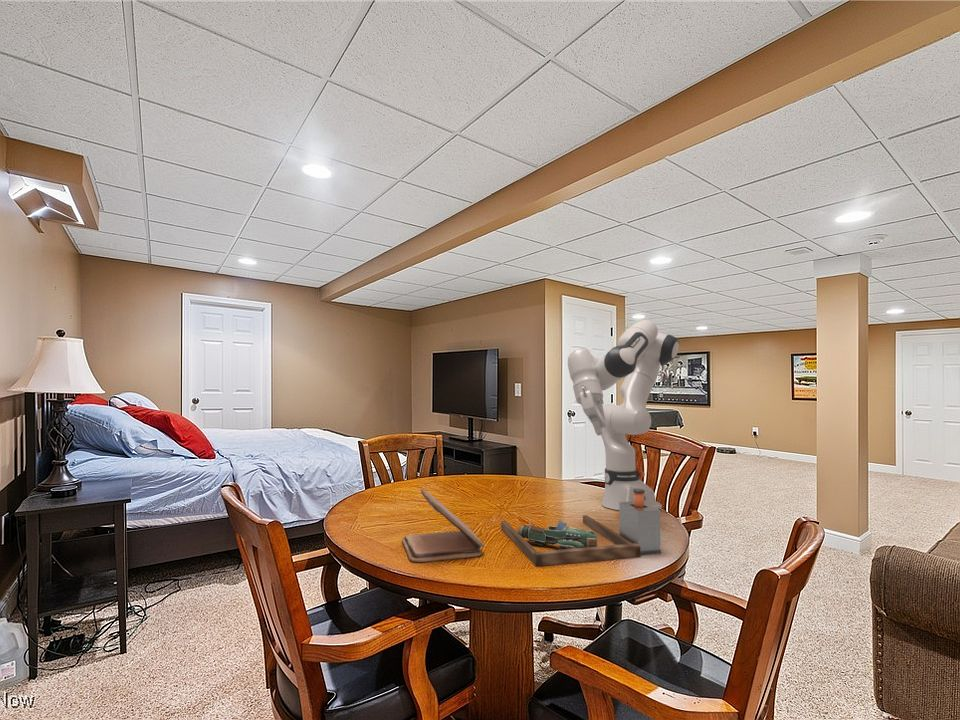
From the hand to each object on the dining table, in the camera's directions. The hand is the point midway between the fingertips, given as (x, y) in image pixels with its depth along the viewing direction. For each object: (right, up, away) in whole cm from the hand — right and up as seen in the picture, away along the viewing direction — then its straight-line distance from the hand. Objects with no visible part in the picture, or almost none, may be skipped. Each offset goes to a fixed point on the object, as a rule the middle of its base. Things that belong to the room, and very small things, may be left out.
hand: (599, 434), depth 151 cm
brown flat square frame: (-12, -31, -6) cm, 34 cm away
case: (-49, -31, -12) cm, 59 cm away
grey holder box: (+9, -31, -11) cm, 34 cm away
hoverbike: (-15, -32, -12) cm, 37 cm away
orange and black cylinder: (+9, -22, -11) cm, 26 cm away
